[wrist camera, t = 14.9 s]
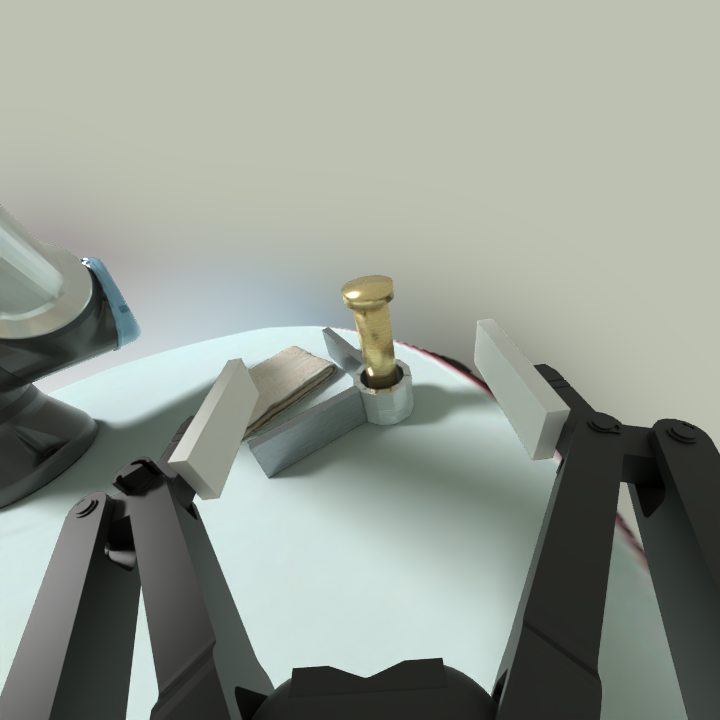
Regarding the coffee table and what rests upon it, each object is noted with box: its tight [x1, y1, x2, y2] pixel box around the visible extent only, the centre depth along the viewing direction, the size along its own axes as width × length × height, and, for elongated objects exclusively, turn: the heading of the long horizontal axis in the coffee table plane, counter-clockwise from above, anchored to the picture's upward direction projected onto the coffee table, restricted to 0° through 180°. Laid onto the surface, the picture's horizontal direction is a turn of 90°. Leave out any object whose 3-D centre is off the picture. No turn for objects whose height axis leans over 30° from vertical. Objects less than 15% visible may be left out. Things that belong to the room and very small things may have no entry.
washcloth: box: [202, 346, 337, 438], centre depth 43 cm, size 12×18×3 cm, turn 136°
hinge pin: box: [341, 275, 398, 390], centre depth 32 cm, size 5×5×16 cm
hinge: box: [248, 327, 414, 478], centre depth 38 cm, size 20×20×5 cm
